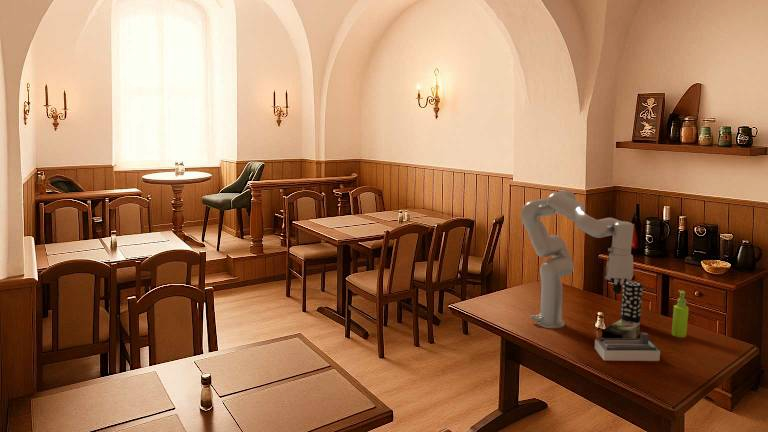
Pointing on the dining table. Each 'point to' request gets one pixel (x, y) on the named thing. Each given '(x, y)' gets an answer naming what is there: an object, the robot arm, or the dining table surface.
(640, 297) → the spotted tube
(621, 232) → the robot arm
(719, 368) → the dining table surface
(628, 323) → the juice carton
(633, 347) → the box
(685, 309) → the soap dispenser
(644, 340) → the handle
